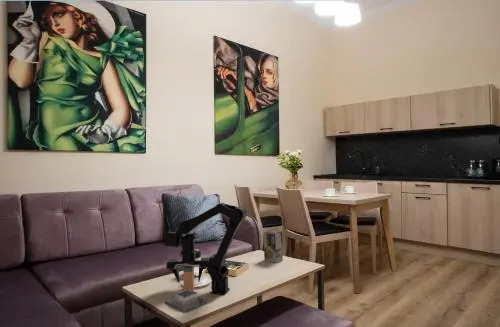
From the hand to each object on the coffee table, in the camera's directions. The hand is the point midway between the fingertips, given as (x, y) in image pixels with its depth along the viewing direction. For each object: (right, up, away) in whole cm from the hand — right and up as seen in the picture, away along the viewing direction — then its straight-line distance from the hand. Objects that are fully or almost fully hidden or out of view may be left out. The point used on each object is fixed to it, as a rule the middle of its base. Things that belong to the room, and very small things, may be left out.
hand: (189, 282), depth 144 cm
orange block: (0, -3, 0) cm, 3 cm away
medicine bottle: (-1, -3, +20) cm, 21 cm away
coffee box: (+41, -2, +40) cm, 57 cm away
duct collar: (+2, -3, -14) cm, 15 cm away
